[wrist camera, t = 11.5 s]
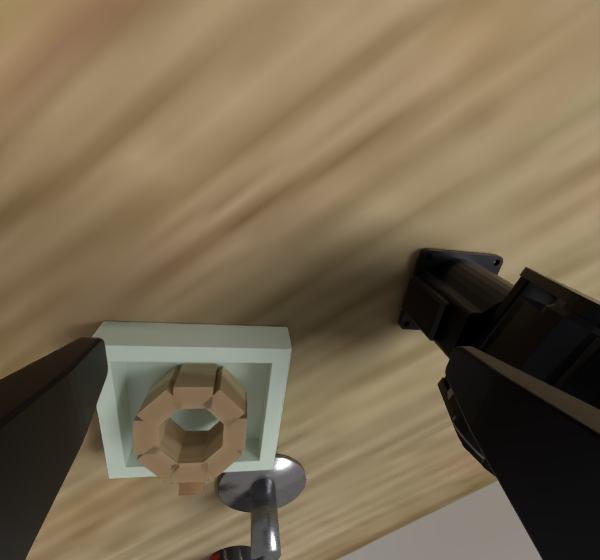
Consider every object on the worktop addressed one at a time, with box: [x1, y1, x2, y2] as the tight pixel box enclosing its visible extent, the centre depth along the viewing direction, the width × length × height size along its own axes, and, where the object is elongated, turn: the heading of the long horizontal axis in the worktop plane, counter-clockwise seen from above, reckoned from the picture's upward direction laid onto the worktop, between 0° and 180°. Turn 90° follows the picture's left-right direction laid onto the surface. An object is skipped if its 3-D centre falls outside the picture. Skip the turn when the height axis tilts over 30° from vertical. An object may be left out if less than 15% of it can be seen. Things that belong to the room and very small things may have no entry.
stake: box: [218, 454, 306, 560], centre depth 28 cm, size 8×8×6 cm
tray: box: [92, 321, 292, 479], centre depth 23 cm, size 12×12×3 cm
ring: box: [133, 363, 247, 495], centre depth 22 cm, size 7×9×3 cm
